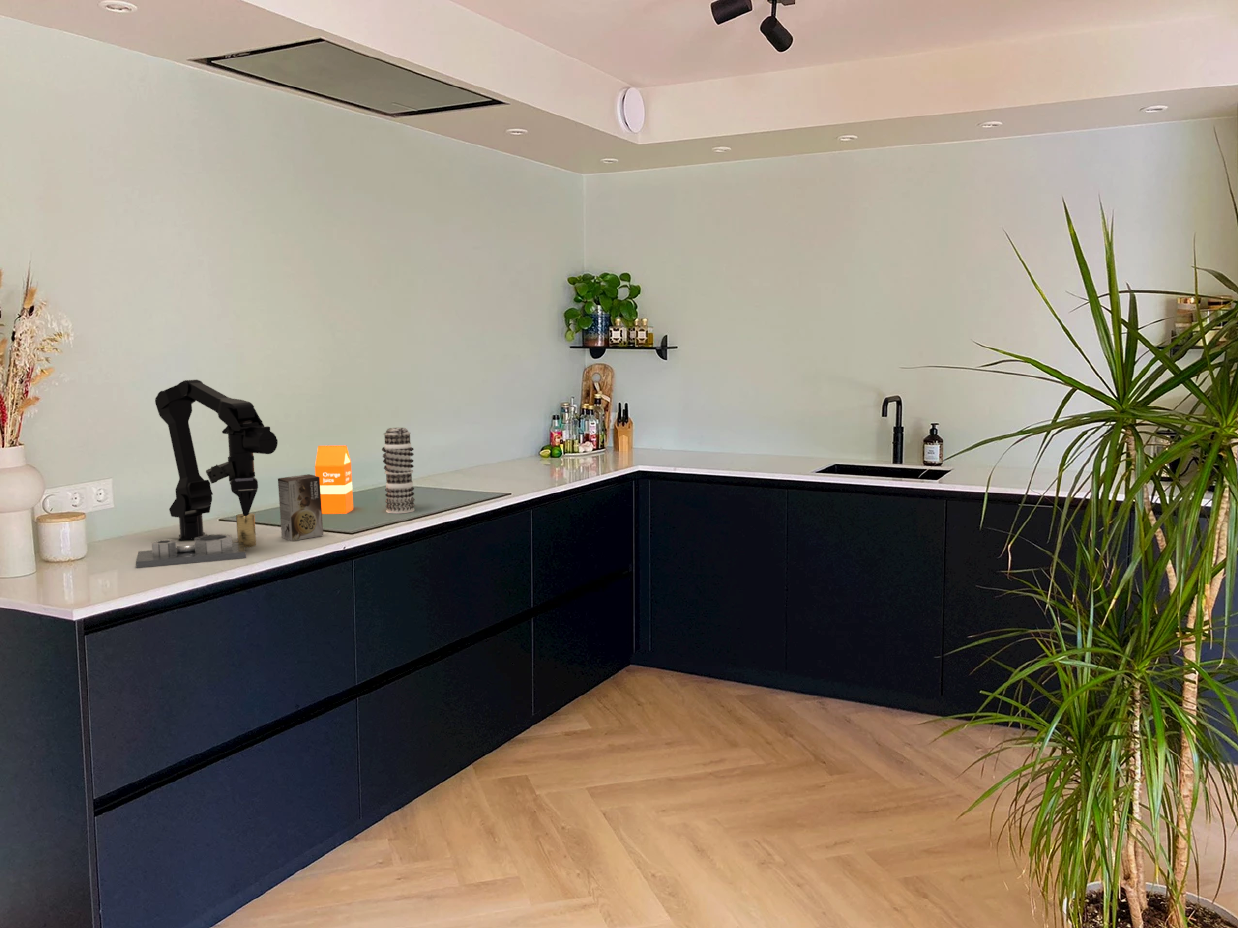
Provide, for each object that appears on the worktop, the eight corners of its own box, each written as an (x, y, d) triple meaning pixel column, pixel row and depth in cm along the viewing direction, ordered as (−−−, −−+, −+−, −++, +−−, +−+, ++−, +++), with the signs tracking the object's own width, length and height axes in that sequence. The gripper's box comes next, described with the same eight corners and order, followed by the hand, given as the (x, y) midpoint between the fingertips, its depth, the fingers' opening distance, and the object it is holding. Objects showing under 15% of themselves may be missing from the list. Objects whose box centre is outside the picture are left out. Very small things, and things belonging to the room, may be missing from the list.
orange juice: (346, 513, 303) (343, 447, 300) (316, 513, 303) (313, 447, 301) (353, 509, 311) (350, 444, 308) (325, 509, 311) (321, 444, 308)
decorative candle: (404, 514, 301) (401, 430, 297) (378, 512, 304) (374, 429, 301) (422, 509, 309) (418, 427, 306) (396, 507, 313) (393, 426, 309)
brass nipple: (237, 544, 261) (235, 514, 260) (255, 543, 263) (253, 512, 262) (238, 548, 257) (236, 516, 256) (256, 546, 259) (254, 515, 258)
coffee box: (312, 532, 276) (309, 473, 273) (324, 536, 271) (320, 476, 269) (280, 537, 269) (276, 477, 267) (291, 541, 265) (288, 480, 262)
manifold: (138, 557, 248) (137, 539, 247) (243, 548, 257) (242, 530, 256) (136, 567, 237) (135, 549, 236) (245, 557, 246) (244, 539, 246)
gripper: (206, 449, 262) (210, 509, 265) (207, 458, 245) (211, 521, 248) (252, 447, 267) (255, 505, 269) (256, 455, 250) (259, 518, 252)
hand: (244, 512), depth 259 cm, fingers open, 9 cm apart
